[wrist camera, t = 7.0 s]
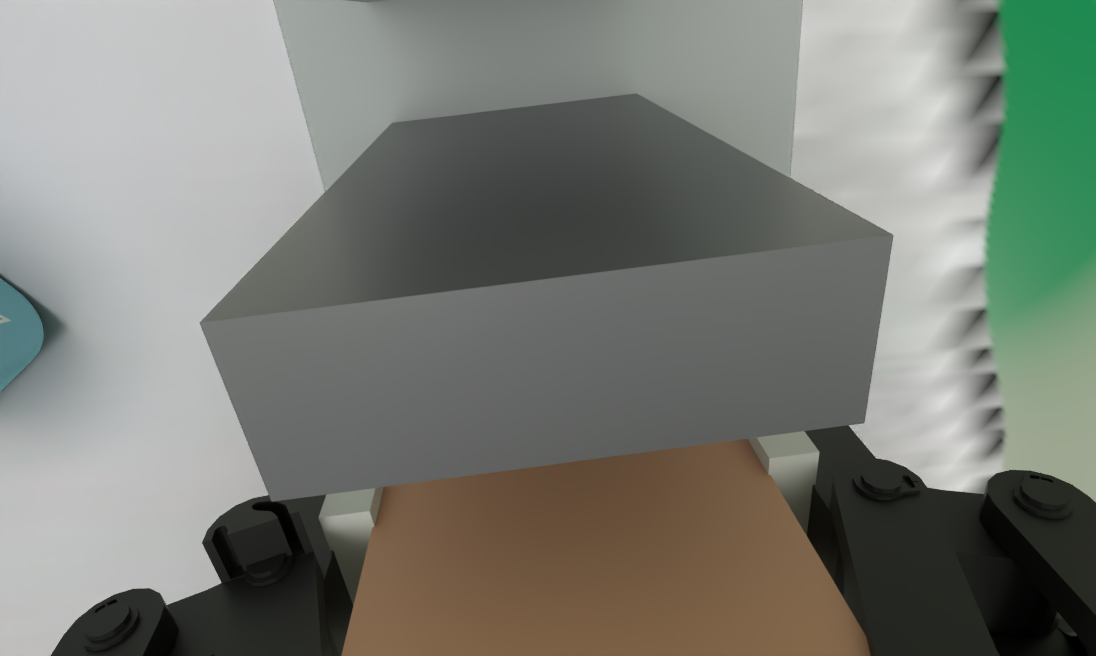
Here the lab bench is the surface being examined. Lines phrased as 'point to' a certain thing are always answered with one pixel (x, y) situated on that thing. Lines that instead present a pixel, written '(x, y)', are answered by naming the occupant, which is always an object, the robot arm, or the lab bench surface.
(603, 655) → the domino
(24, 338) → the data package
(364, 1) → the domino
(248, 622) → the robot arm
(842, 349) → the domino
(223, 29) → the lab bench surface
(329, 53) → the mat
